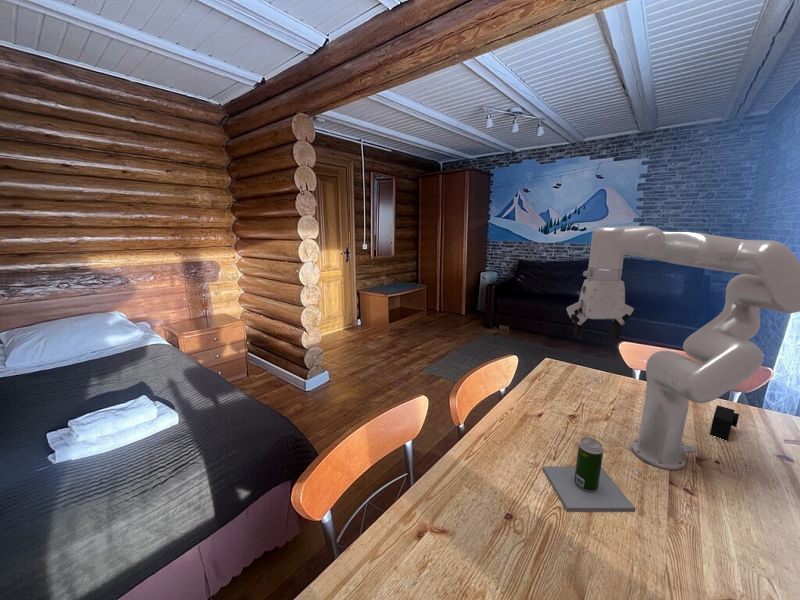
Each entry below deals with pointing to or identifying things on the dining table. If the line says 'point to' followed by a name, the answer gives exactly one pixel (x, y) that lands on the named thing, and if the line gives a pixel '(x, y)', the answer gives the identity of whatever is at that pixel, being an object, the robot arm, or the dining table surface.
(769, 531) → the dining table surface
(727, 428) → the digital camera
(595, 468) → the beer can
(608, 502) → the mat
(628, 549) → the dining table surface
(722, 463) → the dining table surface
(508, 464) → the dining table surface
